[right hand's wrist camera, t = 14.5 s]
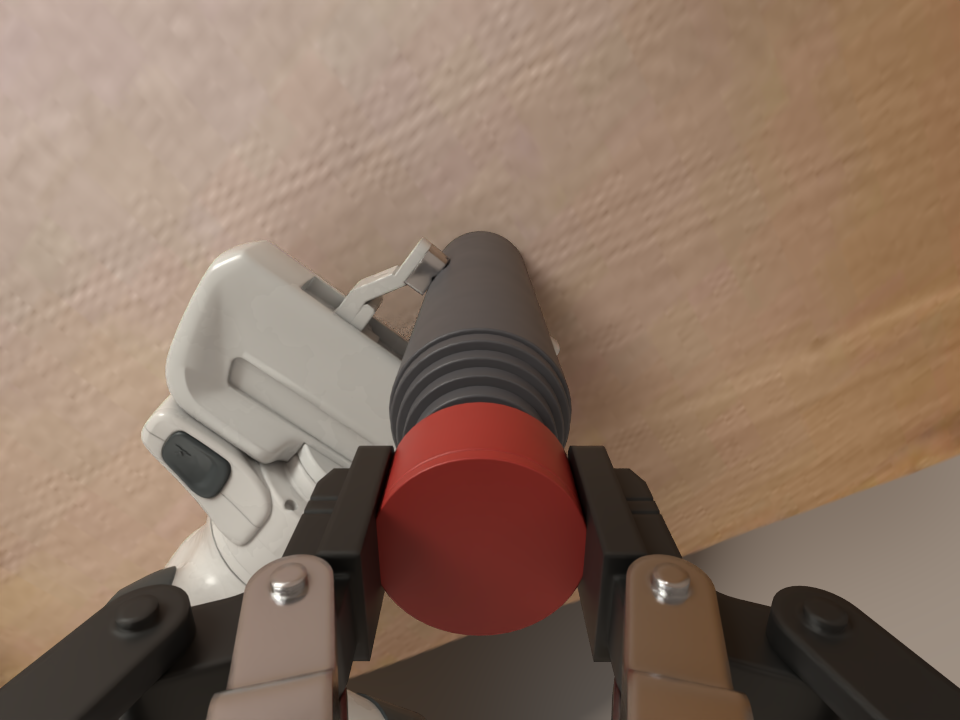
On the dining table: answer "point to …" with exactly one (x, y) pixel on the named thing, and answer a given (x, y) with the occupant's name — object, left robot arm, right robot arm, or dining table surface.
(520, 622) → the cap
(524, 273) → the bottle
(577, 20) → the dining table surface
